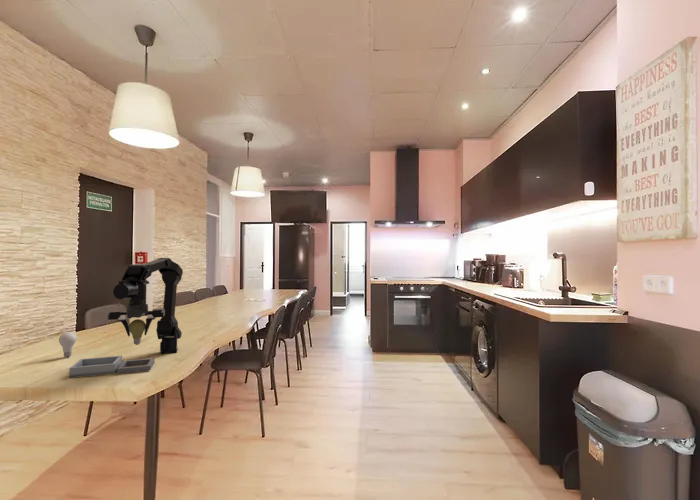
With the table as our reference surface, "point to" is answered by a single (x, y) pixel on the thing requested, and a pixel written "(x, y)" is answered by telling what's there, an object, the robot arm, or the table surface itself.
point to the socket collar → (123, 369)
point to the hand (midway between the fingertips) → (137, 335)
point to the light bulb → (137, 330)
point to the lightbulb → (67, 342)
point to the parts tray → (95, 366)
